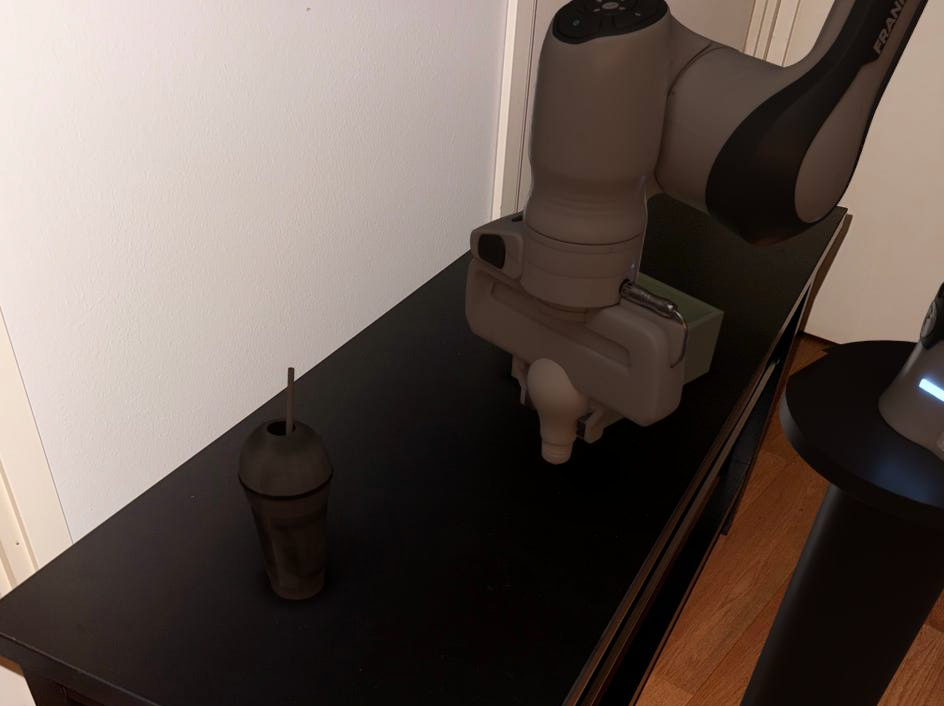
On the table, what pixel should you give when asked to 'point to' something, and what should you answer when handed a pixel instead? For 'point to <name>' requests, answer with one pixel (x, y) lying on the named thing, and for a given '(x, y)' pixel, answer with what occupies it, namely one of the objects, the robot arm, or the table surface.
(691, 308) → the bin
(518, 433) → the table surface
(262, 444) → the beverage cup
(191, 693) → the table surface
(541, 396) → the lightbulb
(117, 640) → the table surface
